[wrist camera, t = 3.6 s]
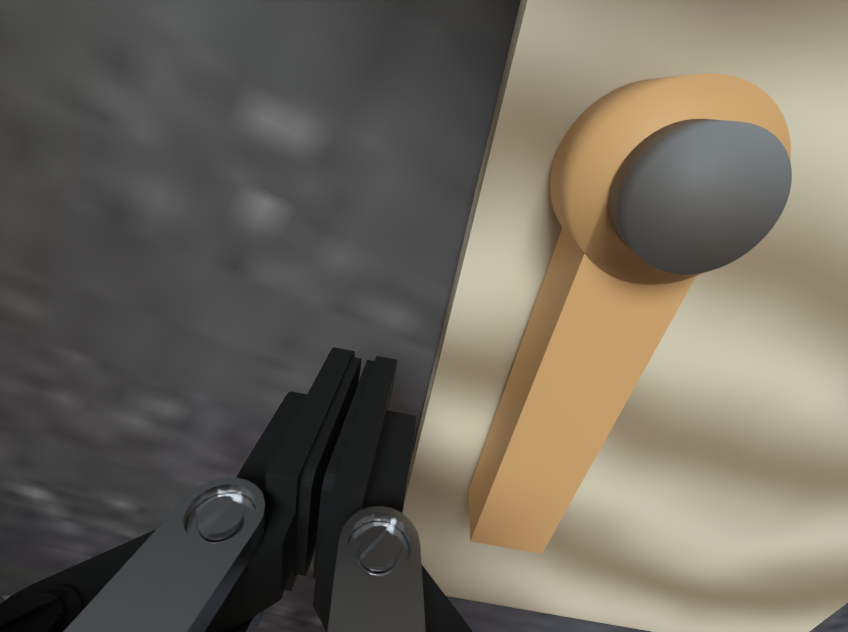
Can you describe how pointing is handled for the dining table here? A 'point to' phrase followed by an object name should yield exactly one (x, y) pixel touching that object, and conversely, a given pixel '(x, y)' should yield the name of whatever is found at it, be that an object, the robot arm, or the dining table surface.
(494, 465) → the link
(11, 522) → the dining table surface
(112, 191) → the dining table surface
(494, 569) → the pivot board
